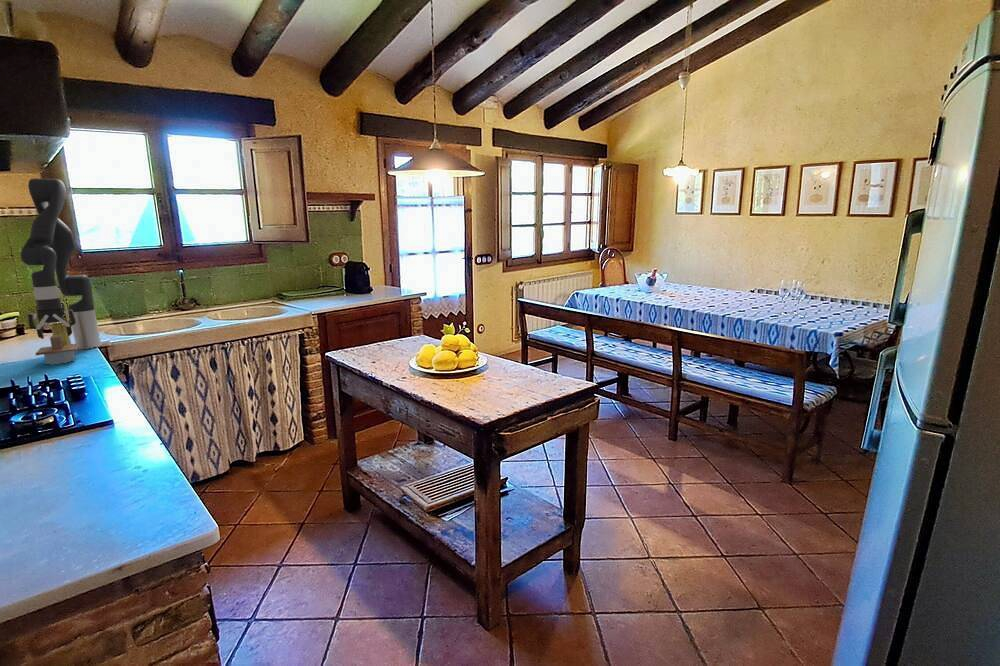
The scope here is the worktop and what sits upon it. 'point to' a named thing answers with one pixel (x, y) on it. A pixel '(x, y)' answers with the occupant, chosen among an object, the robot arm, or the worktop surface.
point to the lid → (57, 346)
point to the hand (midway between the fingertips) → (55, 336)
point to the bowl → (59, 357)
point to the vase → (61, 332)
